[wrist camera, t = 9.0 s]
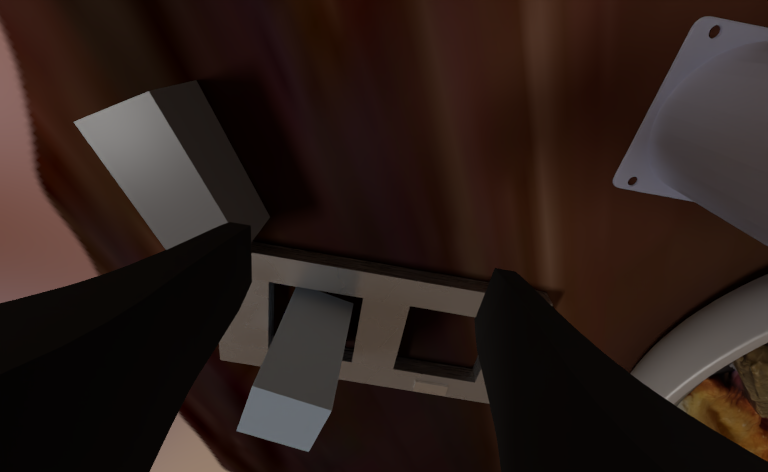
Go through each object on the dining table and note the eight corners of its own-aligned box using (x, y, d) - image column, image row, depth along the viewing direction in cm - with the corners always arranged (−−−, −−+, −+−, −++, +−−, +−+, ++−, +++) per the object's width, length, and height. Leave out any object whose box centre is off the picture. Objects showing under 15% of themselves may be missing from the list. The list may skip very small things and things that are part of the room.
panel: (546, 292, 23) (554, 306, 22) (496, 391, 28) (500, 407, 27) (219, 235, 22) (208, 247, 21) (227, 347, 27) (219, 362, 26)
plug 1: (134, 105, 19) (73, 121, 16) (198, 79, 18) (148, 91, 15) (215, 232, 23) (179, 268, 19) (271, 215, 22) (245, 250, 18)
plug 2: (353, 303, 25) (331, 410, 18) (334, 341, 27) (308, 451, 20) (297, 283, 24) (252, 385, 17) (282, 323, 26) (236, 430, 19)
